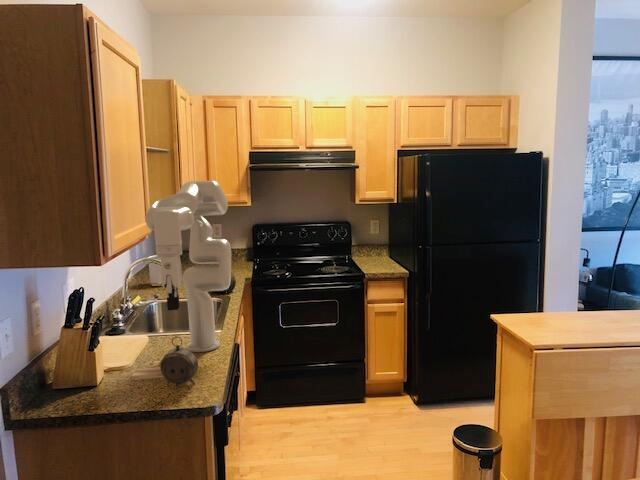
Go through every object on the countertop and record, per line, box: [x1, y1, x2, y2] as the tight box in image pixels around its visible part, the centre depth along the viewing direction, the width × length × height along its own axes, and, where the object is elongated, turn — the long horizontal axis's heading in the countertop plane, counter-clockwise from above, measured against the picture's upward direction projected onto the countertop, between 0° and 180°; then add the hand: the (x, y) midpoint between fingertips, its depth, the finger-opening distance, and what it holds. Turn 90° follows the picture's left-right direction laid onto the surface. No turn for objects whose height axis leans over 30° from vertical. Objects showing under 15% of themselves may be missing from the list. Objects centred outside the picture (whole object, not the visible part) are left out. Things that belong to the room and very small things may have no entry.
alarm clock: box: [159, 336, 199, 390], centre depth 146 cm, size 11×5×16 cm, turn 83°
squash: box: [212, 272, 237, 293], centre depth 262 cm, size 14×15×15 cm
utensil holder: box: [147, 255, 162, 284], centre depth 284 cm, size 15×15×18 cm
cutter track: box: [131, 366, 165, 381], centre depth 155 cm, size 5×17×4 cm, turn 100°
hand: (173, 308), depth 143 cm, fingers closed
